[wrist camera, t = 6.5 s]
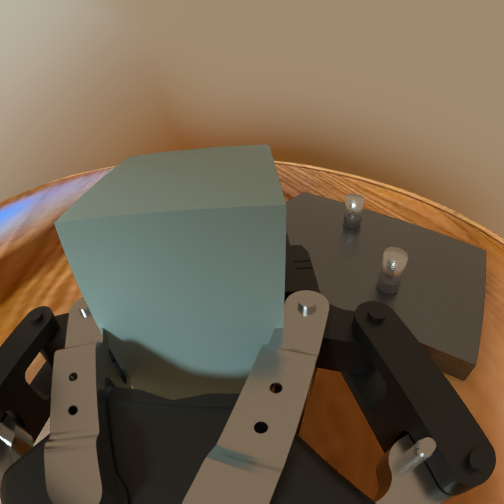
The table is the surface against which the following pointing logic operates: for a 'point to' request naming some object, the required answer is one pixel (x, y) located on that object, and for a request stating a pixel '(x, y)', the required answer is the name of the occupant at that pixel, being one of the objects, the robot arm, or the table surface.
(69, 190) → the table surface
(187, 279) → the block
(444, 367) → the mounting plate
